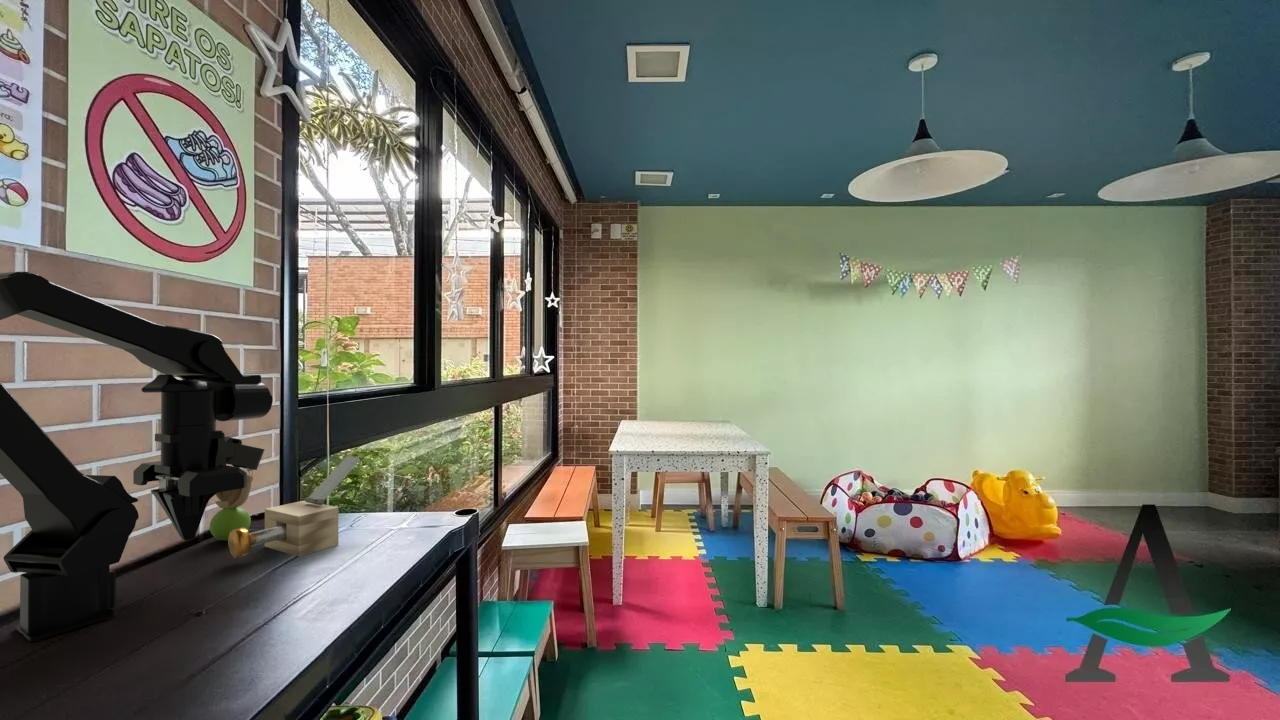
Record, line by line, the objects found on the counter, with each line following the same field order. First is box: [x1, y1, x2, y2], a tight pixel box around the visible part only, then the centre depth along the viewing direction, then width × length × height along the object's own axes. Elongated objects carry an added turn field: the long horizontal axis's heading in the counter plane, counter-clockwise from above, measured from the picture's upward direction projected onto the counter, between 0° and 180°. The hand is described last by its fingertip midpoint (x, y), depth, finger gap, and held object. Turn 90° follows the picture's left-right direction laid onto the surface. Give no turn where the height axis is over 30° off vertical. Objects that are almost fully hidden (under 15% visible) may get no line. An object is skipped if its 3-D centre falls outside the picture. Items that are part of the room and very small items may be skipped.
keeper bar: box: [304, 455, 361, 505], centre depth 88 cm, size 9×4×1 cm
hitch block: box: [264, 500, 339, 557], centre depth 84 cm, size 6×10×6 cm, turn 61°
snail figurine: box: [209, 469, 254, 542], centre depth 87 cm, size 5×6×12 cm
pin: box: [227, 524, 286, 559], centre depth 81 cm, size 13×4×4 cm, turn 151°
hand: (188, 539), depth 71 cm, fingers closed
